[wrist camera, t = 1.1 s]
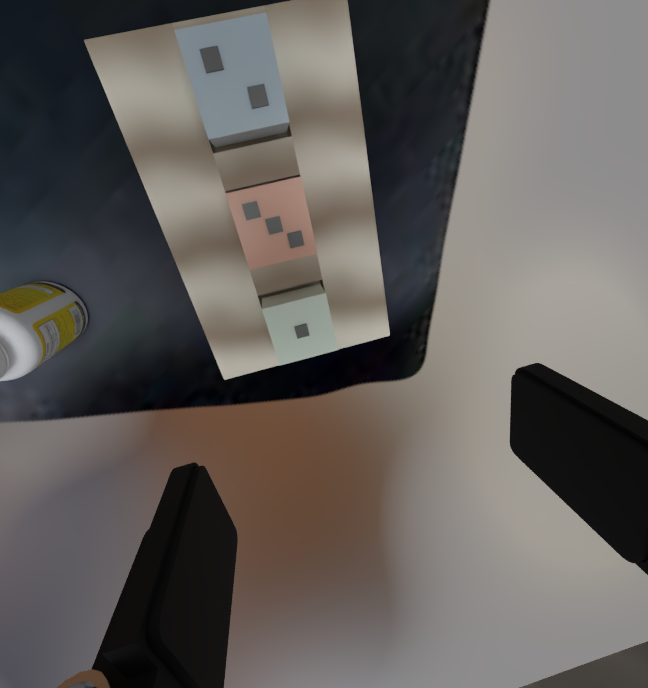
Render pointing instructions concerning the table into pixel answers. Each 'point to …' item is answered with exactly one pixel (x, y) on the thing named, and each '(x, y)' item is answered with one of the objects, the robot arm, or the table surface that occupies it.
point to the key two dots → (235, 79)
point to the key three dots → (273, 222)
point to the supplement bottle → (37, 325)
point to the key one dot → (299, 324)
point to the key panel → (255, 176)
